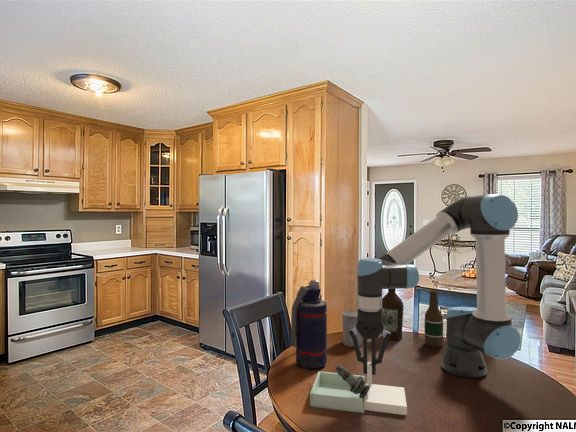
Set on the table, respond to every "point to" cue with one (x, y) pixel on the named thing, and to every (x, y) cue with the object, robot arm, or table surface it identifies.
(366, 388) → the dark grey tall piece
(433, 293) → the beer bottle
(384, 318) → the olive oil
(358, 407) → the box
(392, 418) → the table surface
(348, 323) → the pillar candle
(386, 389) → the white square slab
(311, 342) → the grenade
